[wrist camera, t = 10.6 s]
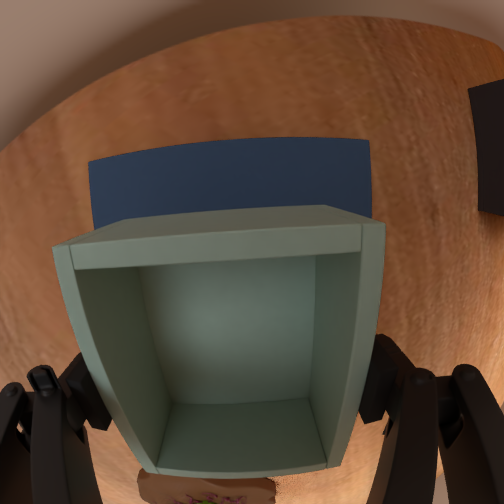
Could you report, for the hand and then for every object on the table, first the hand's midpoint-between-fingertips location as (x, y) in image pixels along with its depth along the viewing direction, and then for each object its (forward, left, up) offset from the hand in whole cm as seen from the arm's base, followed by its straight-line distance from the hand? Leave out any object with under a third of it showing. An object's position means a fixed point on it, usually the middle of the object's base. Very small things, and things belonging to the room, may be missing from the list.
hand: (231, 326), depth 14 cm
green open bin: (0, 0, 0) cm, 0 cm away
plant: (+34, -8, -6) cm, 35 cm away
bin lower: (-11, +27, -6) cm, 30 cm away
